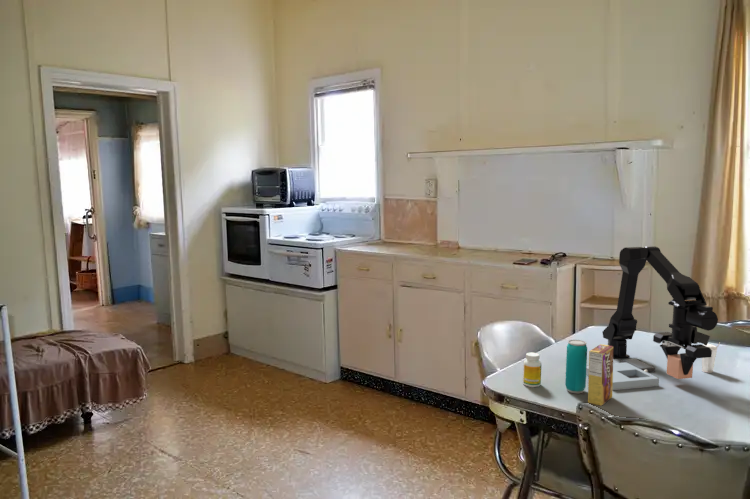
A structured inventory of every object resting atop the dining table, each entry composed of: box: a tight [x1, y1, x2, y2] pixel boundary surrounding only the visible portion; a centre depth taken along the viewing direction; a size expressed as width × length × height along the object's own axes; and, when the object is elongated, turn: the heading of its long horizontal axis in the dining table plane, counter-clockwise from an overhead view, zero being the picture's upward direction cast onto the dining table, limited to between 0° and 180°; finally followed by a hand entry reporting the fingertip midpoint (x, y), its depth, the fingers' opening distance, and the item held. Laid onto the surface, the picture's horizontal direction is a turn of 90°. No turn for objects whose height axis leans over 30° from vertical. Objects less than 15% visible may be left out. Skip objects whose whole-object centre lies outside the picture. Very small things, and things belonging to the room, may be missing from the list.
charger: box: [666, 353, 694, 380], centre depth 186 cm, size 5×5×6 cm
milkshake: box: [701, 342, 721, 374], centre depth 198 cm, size 4×5×10 cm
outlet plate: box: [586, 362, 660, 391], centre depth 191 cm, size 16×16×2 cm
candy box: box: [587, 343, 614, 407], centre depth 173 cm, size 9×4×15 cm, turn 140°
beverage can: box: [564, 339, 588, 395], centre depth 180 cm, size 6×6×15 cm
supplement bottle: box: [522, 351, 542, 388], centre depth 186 cm, size 5×5×10 cm
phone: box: [620, 358, 656, 373], centre depth 203 cm, size 10×6×1 cm, turn 13°
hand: (679, 371), depth 186 cm, fingers closed on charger, 5 cm apart
